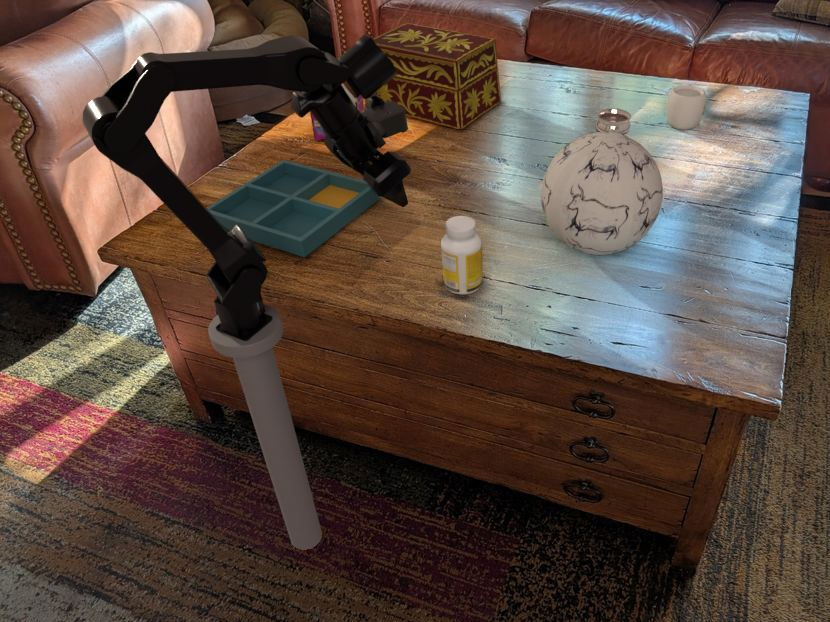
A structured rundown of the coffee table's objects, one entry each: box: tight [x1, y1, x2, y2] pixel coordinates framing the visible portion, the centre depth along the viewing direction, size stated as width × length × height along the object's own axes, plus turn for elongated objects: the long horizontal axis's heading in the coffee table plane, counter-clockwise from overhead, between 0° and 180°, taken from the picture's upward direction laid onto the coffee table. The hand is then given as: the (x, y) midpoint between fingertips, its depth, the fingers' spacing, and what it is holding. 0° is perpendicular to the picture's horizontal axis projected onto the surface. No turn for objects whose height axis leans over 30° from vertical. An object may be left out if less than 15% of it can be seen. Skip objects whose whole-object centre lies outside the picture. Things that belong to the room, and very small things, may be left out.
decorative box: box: [364, 22, 502, 131], centre depth 171 cm, size 28×19×15 cm
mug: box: [665, 84, 708, 130], centre depth 163 cm, size 12×8×8 cm
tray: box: [206, 159, 380, 258], centre depth 137 cm, size 23×23×3 cm
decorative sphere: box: [540, 131, 664, 256], centre depth 121 cm, size 20×20×20 cm
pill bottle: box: [440, 215, 484, 295], centre depth 115 cm, size 6×6×12 cm
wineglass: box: [594, 107, 632, 136], centre depth 144 cm, size 7×7×12 cm
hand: (392, 193), depth 116 cm, fingers open, 9 cm apart
